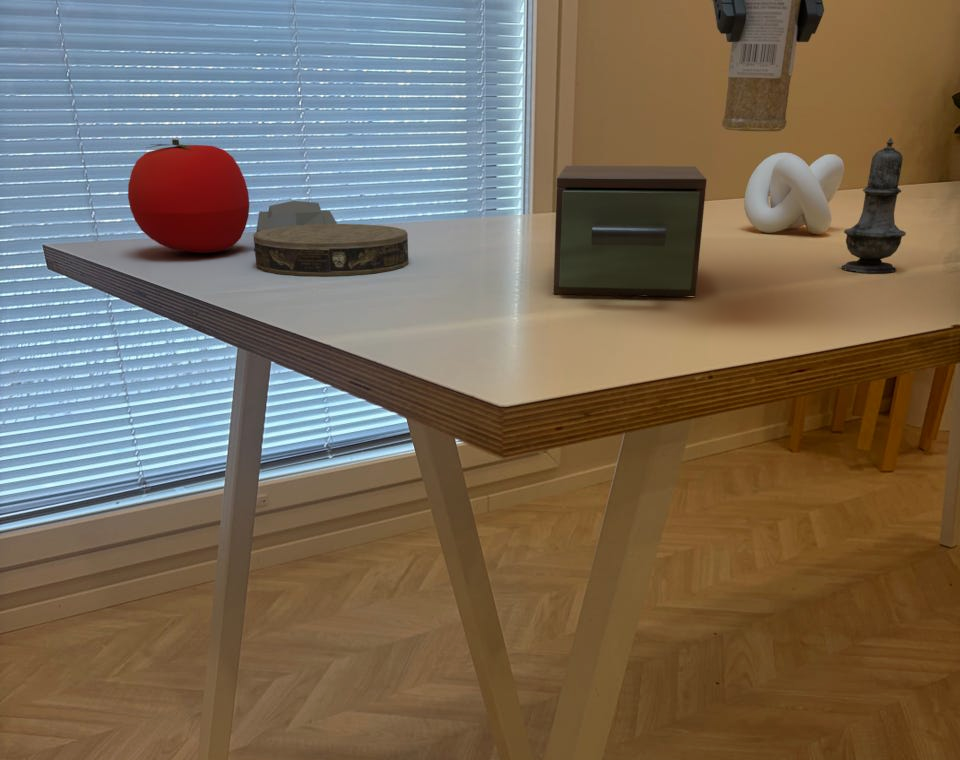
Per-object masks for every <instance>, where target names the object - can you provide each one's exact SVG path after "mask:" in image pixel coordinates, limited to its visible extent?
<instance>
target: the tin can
mask: <svg viewBox="0 0 960 760" xmlns="http://www.w3.org/2000/svg"><path fill="white" fill-rule="evenodd" d="M408 239H409V238H408V232H407V230H406V229H404V228H399V227H394V226H386V225H380V224H379V225H378V224H377V225H376V224H363V223H362V224H361V223H360V224H359V223H337V224H315V225H298V226H287V227H278V228H272V229H266V230H262V231H259V232H256V231H255V232H254V233H253V244H254V247H255V251H254V254H255V255H254V256H255V265H256V266H255V267H256V269H259V270H261V271H263V272H267V273H274V274H279V275H289V276H290V275H291V276H301V277H302V276H309V277H337V276H341V277H342V276H356V275H357V276H358V275H370V274H378V273H385V272H391V271H394V270H398V269H401V268H404V267H406V266H408V264H409V240H408Z"/></svg>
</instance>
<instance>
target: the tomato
mask: <svg viewBox="0 0 960 760" xmlns="http://www.w3.org/2000/svg"><path fill="white" fill-rule="evenodd" d="M171 143H172V144H171V145H172V146H169V144H165V143H156V144H155V143H153V144H150V146H151V148H155V147H161V148H158V149H157V148H156V149H153V150H151V151H147V152H145V153H143V155H142V156H141V157H139V158H138V159H137V160H136V162H135V163H134V166H133V168H132V169H131V172H130V177H129V180H128V185H127V186H128V187H127V199H128V203H129V209H130V212H131V214H132V217H133V219H134V221H135V223H136V225H138V227H139V228H140V231H142V233H144V234H145V235H146V236H147V237H148V238H150V239H151V240H152V241H154V242H155V243H157V244H159V245H161V246H163V247H166V248H168V249H171V250H175V251H179V252H186V253H187V252H188V253H197V254H209V253H217V252H222V251H226V250H228V249H230V248H232V247H233V246H235V245H236V244H237V243H238V242H239V241H240V240H241V238H242V236H243V234H244V231H245V229H246V227H247V223H248V220H249V215H250V197H249V190H248V186H247V182H246V179H245V177H244V174H243V172H242V170H241V168H240V167H239V166H240V165H238V163H237V161H236V159H235V158H234V156H232V155H231V154H230V153H229V152H227V151H226V150H225V149H222V148H221V147H217V146H214V145H207V144H206V145H205V144H180V140H179V139H175V138H174V139H171ZM150 146H147V147H146V149H148V148H150ZM163 146H167V147H163Z"/></svg>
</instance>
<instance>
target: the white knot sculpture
mask: <svg viewBox="0 0 960 760" xmlns="http://www.w3.org/2000/svg"><path fill="white" fill-rule="evenodd" d="M844 173H845V164H844V162H843V159H842V158H841V157H840V156H838V155H836V154H835V153H834V154H833V153H830V154H829V153H828V154H824V155H822V156H820V157H819V158H817V159H816V160H814V161H813V162H812V163H811V164H810V165H809V164H808V163H807V162H806V161H805V160H804V159H803V158H801V157H800V156H798V155H797V154H794V153H791V152H777V153H774V154H771V155H770V156H768V157H766V158H764V159H763V160H762V161H761V162H760V163H759V164H758V165H757V166H756V168H755V169H754V171H753V172H752V173H751V176H750V178H749V179H748V183H747V186H746V189H745V192H744V200H743V201H744V202H743V204H744V206H743V207H744V212H745V217H746V219H747V220H748V222H749V224H751V226H752V227H754V229H755V230H756V231H759V232H761V233H764V234H774V233H777V232H782V231H783V230H787V229H791V230H792V229H793V230H794V229H799V228H801V227H803V226H805V228H806V230H807V231H808V232H810V233H811V234H813V235H821V234H825V233H826V232H827V231H828V230H829V228H830V227H831V224H832V219H833V218H832V216H833V215H832V212H831V209H830V205H829V203H830V202H831V201H832V200H833V198H834V197H835V195H836V193H837V192H838V190H839V188H840V187H841V184H842V181H843V178H844ZM769 202H770V203H769Z"/></svg>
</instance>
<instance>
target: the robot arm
mask: <svg viewBox="0 0 960 760" xmlns="http://www.w3.org/2000/svg"><path fill="white" fill-rule="evenodd" d="M711 1H712V4H713V9H714V15H715V21H716V28H717V30H718V31H719V33H720V34H721V35H724V34H725V39H726V42H727V43H732V42H738V41H739V39H740V37H741V34H742V31H743V28H744V25H745V22H746V9H745V3H744V0H711ZM824 13H825V7H824V3H823V0H801V2H800V10H799V18H798V24H797V27H798V33H797V41H796V43H809V42H810V39H811V38H812V35H813V34H814V35H815V34H816V32H817V30H818V28H819V25H820V23H821V21H822V19H823V16H824Z"/></svg>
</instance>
